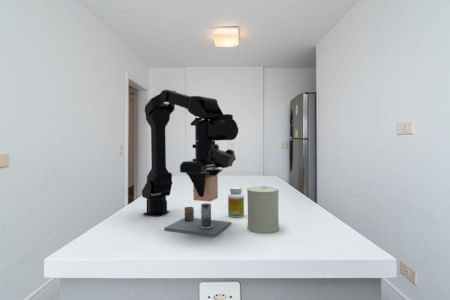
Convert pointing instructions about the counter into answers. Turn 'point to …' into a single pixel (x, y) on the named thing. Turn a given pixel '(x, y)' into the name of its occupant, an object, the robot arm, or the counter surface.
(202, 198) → the terracotta colored cuboid
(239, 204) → the supplement bottle
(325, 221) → the counter surface
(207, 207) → the marker post
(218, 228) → the board
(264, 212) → the can
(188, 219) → the walnut post
